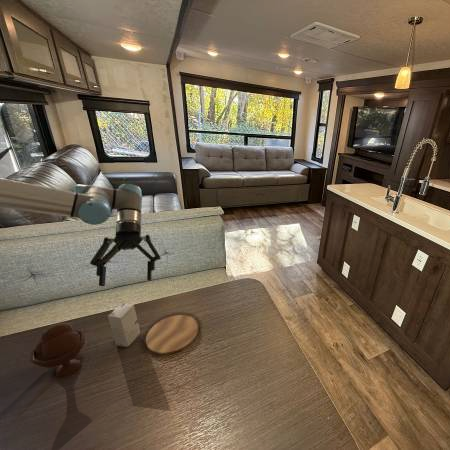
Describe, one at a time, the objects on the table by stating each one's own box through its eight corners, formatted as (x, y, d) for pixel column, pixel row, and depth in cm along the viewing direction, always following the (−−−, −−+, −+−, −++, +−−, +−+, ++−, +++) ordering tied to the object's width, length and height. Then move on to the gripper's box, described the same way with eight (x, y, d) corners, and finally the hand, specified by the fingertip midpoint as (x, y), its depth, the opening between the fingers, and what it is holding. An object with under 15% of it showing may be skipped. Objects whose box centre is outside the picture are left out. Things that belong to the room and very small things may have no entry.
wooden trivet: (134, 351, 78) (134, 349, 77) (164, 314, 92) (163, 312, 92) (184, 357, 77) (184, 355, 77) (205, 319, 92) (205, 318, 91)
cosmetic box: (128, 347, 79) (121, 318, 74) (114, 345, 79) (106, 316, 74) (141, 332, 84) (135, 304, 79) (128, 330, 84) (121, 302, 80)
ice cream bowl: (33, 375, 68) (13, 335, 62) (81, 346, 77) (68, 309, 72) (52, 395, 64) (32, 355, 58) (100, 362, 73) (88, 324, 67)
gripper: (168, 226, 98) (169, 279, 91) (91, 230, 89) (85, 289, 82) (165, 219, 91) (165, 275, 84) (81, 222, 82) (74, 286, 76)
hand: (126, 282), depth 83 cm, fingers open, 13 cm apart
